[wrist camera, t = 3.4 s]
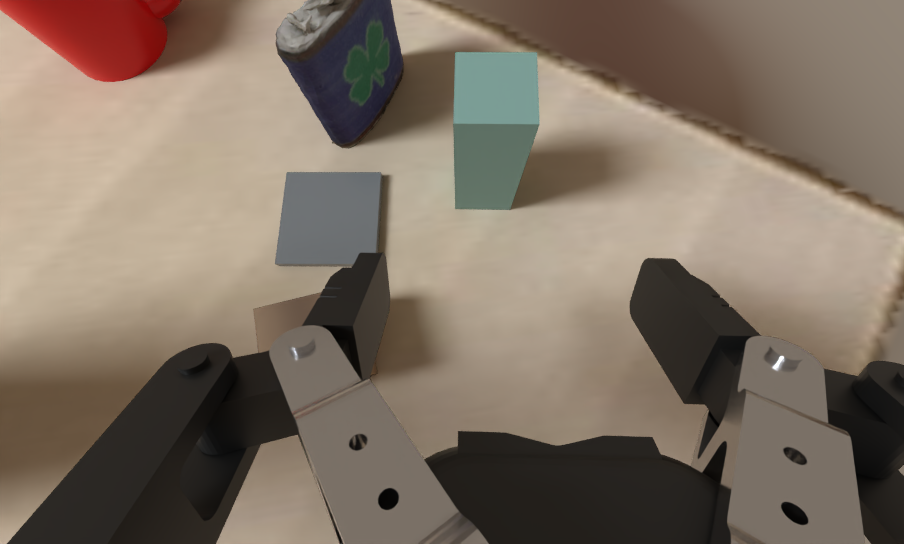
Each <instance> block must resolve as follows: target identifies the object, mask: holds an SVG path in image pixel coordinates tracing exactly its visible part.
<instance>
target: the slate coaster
mask: <svg viewBox="0 0 904 544" xmlns="http://www.w3.org/2000/svg"><path fill="white" fill-rule="evenodd" d="M382 179H383V176H382V174H381V172H287V174H286V182H285V190H284V198H283V205H282V213H281V221H280V229H279V237H278V245H277V252H276V260H275V264H277V265H278V266H344V267H352V266H353V265H354V263H355V261H356V259H357V257H358V255H359V253H361V252H365V253H378V246H379V229H380V213H381V196H382Z"/></svg>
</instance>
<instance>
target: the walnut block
mask: <svg viewBox="0 0 904 544" xmlns="http://www.w3.org/2000/svg"><path fill="white" fill-rule="evenodd" d="M321 293H322V292H321ZM321 293H317V294H313V295H309V296H305V297H300V298H296V299H292V300H288V301H284V302H280V303H276V304H272V305H268V306H263V307H259V308H255V309H253V310H254V319H255V327H256V336H257V344H258V353H261V352H265V351H269V350H270V347H271V345H272V344H273V342H274V341H275V340H276V339H277V338H278V337H279V336H281V335H282V334H284V333H285V332H287V331H289V330H292V329H294V328H297V327H301V326H302V325H303V323H304V321H305V320H306V318H307V316H308V315H309V313H310V311H311V310H312V308H313V306H314V305H315V303H316V301H317V299H318V298H320V294H321ZM374 374H377V368H376V363H375V362H374V365H373V369H372V372H371V375H374Z"/></svg>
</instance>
